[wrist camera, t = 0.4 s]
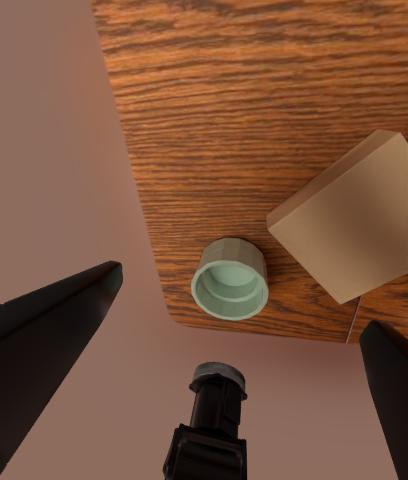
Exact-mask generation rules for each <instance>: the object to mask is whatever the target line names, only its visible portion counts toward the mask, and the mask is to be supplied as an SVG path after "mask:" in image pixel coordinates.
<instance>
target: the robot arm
mask: <svg viewBox="0 0 408 480" xmlns="http://www.w3.org/2000/svg"><path fill="white" fill-rule="evenodd" d="M122 282H123V274H122V265H121V263H119V262H116V261H108V262H105V263H103V264H100V265H98V266H95V267H93V268H90V269H88V270H85V271H83V272H80V273H78V274H75V275H73V276H70V277H68V278H65V279H63V280H60V281H58V282H55V283H53V284H50V285H48V286H45V287H43V288H40V289H38V290H35V291H33V292H30V293H28V294H25V295H23V296H20V297H18V298H15V299H13V300H10V301H8V302H5V303H4V304H0V475H1V473H2V472H3V470H4V469H5V467H6V466H7V463H8V462H9V461H10V459H11V458H12V456H13V455H14V453H15V452H16V450H17V449H18V447H19V446H20V444H21V443H22V441H23V440H24V438H25V437H26V435H27V433H28V432H29V431H30V429H31V428H32V426H33V425H34V423H35V422H36V420H37V419H38V417H39V416H40V414H41V413H42V411H43V410H44V408H45V407H46V405H47V404H48V402H49V401H50V399H51V398H52V396H53V395H54V393H55V392H56V390H57V389H58V387H59V386H60V384H61V383H62V381H63V380H64V378H65V377H66V376H67V374H68V373H69V371H70V370H71V368H72V366H73V365H74V364H75V362H76V361H77V359H78V357H79V356H80V355H81V353H82V352H83V350H84V348H85V347H86V345H87V344H88V343H89V341H90V339H91V338H92V336H93V335H94V334H95V332H96V331H97V329H98V328H99V326H100V324H101V323H102V321H103V319H104V318H105V316H106V314H107V312H108V310H109V309H110V307H111V305H112V303H113V301H114V299H115V297H116V295H117V293H118V291H119V289H120V287H121V285H122ZM359 342H360V347H361V352H362V356H363V361H364V366H365V371H366V375H367V380H368V384H369V388H370V391H371V395H372V398H373V401H374V404H375V407H376V410H377V414H378V417H379V420H380V423H381V426H382V429H383V432H384V435H385V438H386V442H387V445H388V448H389V451H390V454H391V457H392V460H393V464H394V467H395V470H396V473H397V476H398V479H399V480H408V339H407V338H405V337H404V336H403V335H402V334H400V333H399V332H398V331H397V330H395V329H394V328H393V327H392V326H390V325H389V324H388V323H386V322H382V321H377V320H372V321H370V322H369V324H368V325H367V326H366V328H365V329H364V331H363V332H362V333H361V335H360V339H359ZM189 389H190V390H192V391H193V392H195V393H196V396H195V401H194V406H193V411H192V416H191V421H190V426H186V425H184V424H181V423H180V426H179V428H176V429H175V431H174V435H173V439H172V443H171V446H170V449H169V452H168V455H167V458H166V460H165V463H164V466H163V473H164V476H165V480H247V449H246V448H247V447H246V440H245V439H242V440H241V439H238V425H240V415H241V401H243V400H246V399H247V394H246V393H244V392H243V391H242V390H241V389H239V388H238V387H237V386H235V385H234V384H233V383H231V382H230V381H229V380H228V379H226V378H225V377H224V376H222V375H221V374H220V373H214V374H212V375H210V376H207V377H205V378H203V379H200V380H198V381H196V382H194V383H191V384H190V386H189Z"/></svg>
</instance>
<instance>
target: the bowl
mask: <svg viewBox="0 0 408 480" xmlns="http://www.w3.org/2000/svg"><path fill="white" fill-rule="evenodd" d="M191 291H192V296H193V297H194V299H195V301H196V303H197V304H198V305H199V306H200V307H201V308H202V309H203V310H205V311H206V312H207V313H208V314H211V315H213V316H215V317H218V318H220V319H227V320H241V319H247V318H250V317H252V316H253V315H255V314H257V313H259V312H260V311H261V310H262V308H263V307H264V306H265V304H266V303H267V299H268V292H269V289H268V277H267V265H266V262H265V259H264V256H263V254H262V253H261V252H260V251H259V250H258V249H257V248H256V247H255V246H254V245H253V244H251V243H249V242H247V241H244V240H242V239H240V238H223V239H220V240H217V241H214V242H212V243H211V244H210V245H209V246H207V247H206V248H205V249H204V251H203V253H202V255H201V257H200V259H199V262H198V265H197V268H196V270H195V273H194V276H193V278H192V281H191Z"/></svg>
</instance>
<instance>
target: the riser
mask: <svg viewBox="0 0 408 480" xmlns="http://www.w3.org/2000/svg"><path fill="white" fill-rule="evenodd" d="M266 222H267V230H268V231H269V232H270V233H271V234H272V235H273V236H274V237H275V238H276V239H277V240H278V242H279V243H280V244H281V245H282V246H283V247H284V248H285V249H286V250H287V251H288V252H289V253H290V254H291V255H292V256H293V257H294V258H295V259H296V260H297V261H298V262H299V263H300V264H301V265H302V266H303V267H304V268H305V269H306V270H307V271H308V272H309V273H310V275H311V276H312V277H313V278H314V279H315V280H316V281H317V282H318V283H319V284H320V285H321V286H322V287H323V288H324V289H325V290H326V291H327V292H328V293H329V294H330V295H331V296H332V297H333V298H334V299H335V300H336V301H337V302H338V303H339V304H340V305H341V304H343V303H345V302H347V301H349V300H351V299H354V298H356V297H358V296H360V295H362V294H364V293H366V292H369V291H371V290H373V289H375V288H377V287H379V286H382V285H384V284H386V283H388V282H390V281H392V280H395V279H397V278H399V277H401V276H403V275H405V274H407V273H408V143H407V141H406V140H405V138H404V137H403V135H402V134H401V133H400V132H395V131H388V130H381V129H377V130H376V131H374V132H373V133H372V134H370V135H369V136H368V137H367V138H365V139H364V140H363V141H361V142H360V143H359V144H357V145H356V146H355V147H354V148H352V149H351V150H350V151H348V152H347V153H346V154H345V155H343V156H342V157H341V158H339V159H338V160H337V161H336V162H334V163H333V164H332V165H330V166H329V167H328V168H327V169H325V170H324V171H323V172H321V173H320V174H319V175H318V176H316V177H315V178H314V179H312V180H311V181H310V182H309V183H307V184H306V185H305V186H303V187H302V188H301V189H300V190H298V191H297V192H296V193H294V194H293V195H292V196H291V197H289V198H288V199H287V200H285V201H284V202H283V203H281V204H280V205H279V206H278V207H276V208H275V209H274V210H272V211H271V212H270V213H269V214H267V215H266Z"/></svg>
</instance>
